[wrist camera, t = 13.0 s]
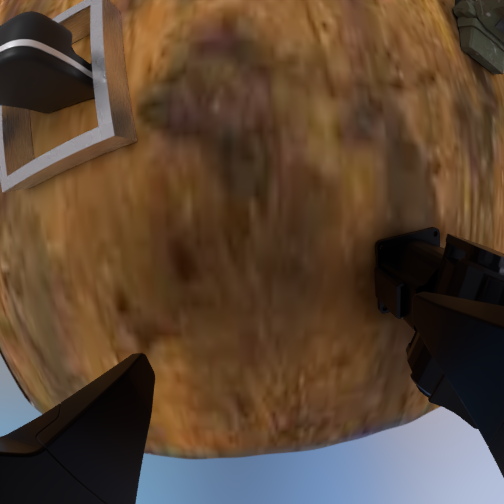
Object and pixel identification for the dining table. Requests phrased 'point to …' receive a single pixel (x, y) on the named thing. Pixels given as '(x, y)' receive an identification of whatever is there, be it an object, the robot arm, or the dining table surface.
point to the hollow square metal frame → (106, 98)
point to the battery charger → (41, 65)
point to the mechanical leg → (482, 31)
